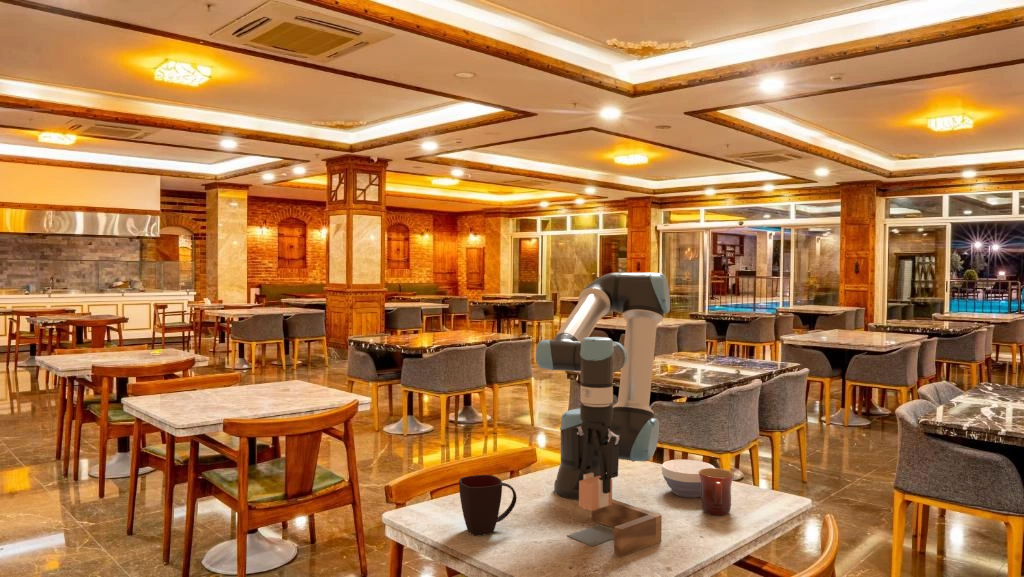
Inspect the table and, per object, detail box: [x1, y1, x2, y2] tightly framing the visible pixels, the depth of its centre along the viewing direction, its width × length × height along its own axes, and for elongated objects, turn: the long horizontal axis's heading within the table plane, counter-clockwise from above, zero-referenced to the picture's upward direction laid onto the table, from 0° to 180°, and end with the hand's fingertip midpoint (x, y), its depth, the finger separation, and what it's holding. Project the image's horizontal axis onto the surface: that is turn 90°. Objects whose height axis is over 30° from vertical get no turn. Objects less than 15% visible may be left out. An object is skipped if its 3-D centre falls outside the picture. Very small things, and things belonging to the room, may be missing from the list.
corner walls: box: [590, 498, 663, 558], centre depth 166 cm, size 20×14×6 cm
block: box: [578, 476, 613, 511], centre depth 165 cm, size 7×4×6 cm, turn 130°
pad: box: [567, 524, 614, 547], centre depth 166 cm, size 8×11×1 cm
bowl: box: [661, 459, 716, 499], centre depth 198 cm, size 14×14×8 cm
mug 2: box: [699, 467, 735, 517], centre depth 180 cm, size 12×9×10 cm
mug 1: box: [458, 474, 517, 536], centre depth 169 cm, size 10×14×12 cm
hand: (595, 503), depth 166 cm, fingers closed on block, 4 cm apart
